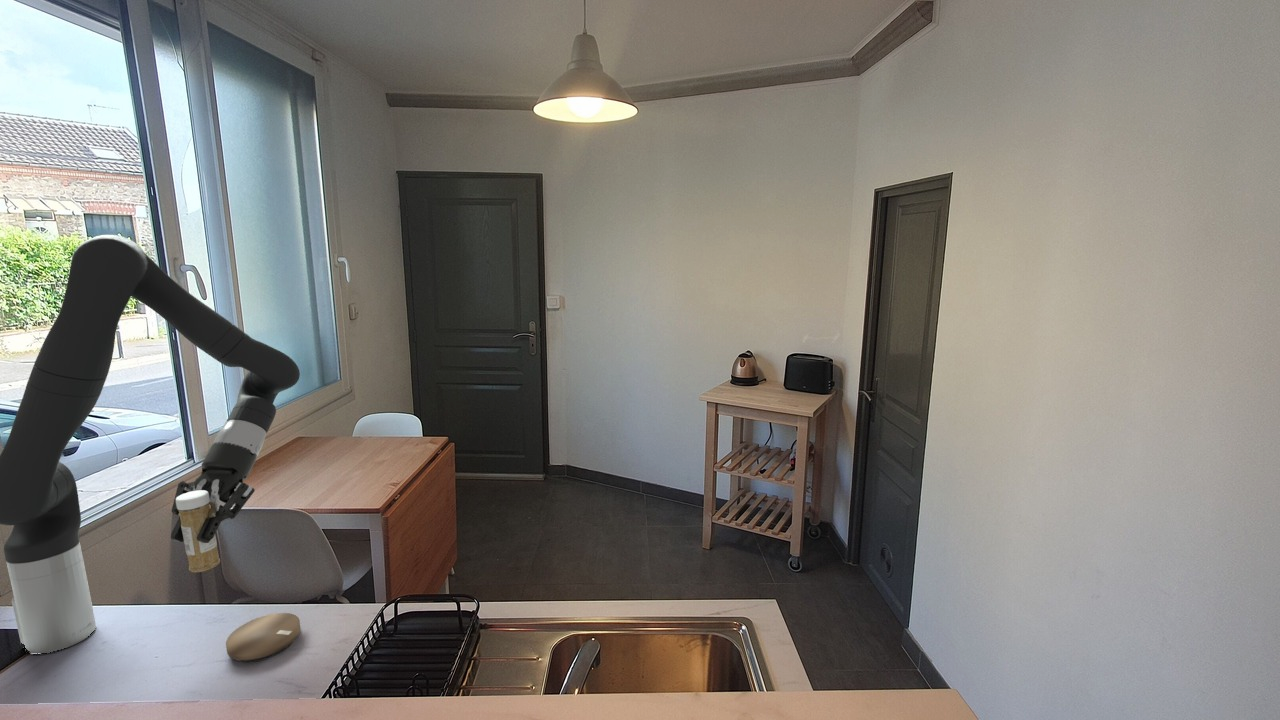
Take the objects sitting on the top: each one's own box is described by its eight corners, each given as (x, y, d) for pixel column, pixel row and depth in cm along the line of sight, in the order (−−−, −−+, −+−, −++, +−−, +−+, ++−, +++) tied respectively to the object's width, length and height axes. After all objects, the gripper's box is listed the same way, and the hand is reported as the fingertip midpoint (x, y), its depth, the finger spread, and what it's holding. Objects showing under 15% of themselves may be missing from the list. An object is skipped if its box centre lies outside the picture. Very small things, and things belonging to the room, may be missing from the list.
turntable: (210, 657, 98) (209, 649, 98) (260, 618, 109) (259, 610, 109) (269, 662, 97) (268, 653, 97) (314, 622, 108) (313, 614, 107)
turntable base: (221, 660, 99) (220, 654, 99) (262, 627, 108) (261, 622, 108) (269, 663, 98) (268, 658, 98) (306, 630, 107) (305, 625, 107)
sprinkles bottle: (220, 567, 102) (207, 495, 99) (187, 576, 99) (173, 502, 97) (221, 557, 106) (208, 486, 103) (189, 565, 103) (176, 493, 101)
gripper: (186, 440, 107) (134, 532, 97) (257, 441, 105) (211, 535, 95) (215, 457, 113) (169, 546, 103) (282, 458, 111) (241, 549, 102)
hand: (189, 540), depth 99 cm, fingers closed on sprinkles bottle, 4 cm apart
